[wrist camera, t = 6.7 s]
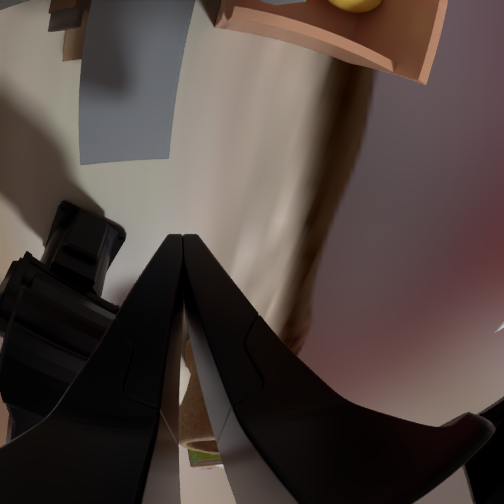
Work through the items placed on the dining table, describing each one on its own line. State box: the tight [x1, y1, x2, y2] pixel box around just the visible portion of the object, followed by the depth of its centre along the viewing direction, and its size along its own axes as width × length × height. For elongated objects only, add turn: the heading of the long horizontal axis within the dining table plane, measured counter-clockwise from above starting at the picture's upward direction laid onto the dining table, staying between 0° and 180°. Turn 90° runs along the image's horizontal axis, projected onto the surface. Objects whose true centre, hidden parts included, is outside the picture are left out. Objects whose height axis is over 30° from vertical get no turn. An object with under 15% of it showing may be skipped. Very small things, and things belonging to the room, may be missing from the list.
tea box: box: [188, 449, 224, 470], centre depth 58 cm, size 15×10×15 cm, turn 2°
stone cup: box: [179, 339, 220, 454], centre depth 32 cm, size 15×12×15 cm
